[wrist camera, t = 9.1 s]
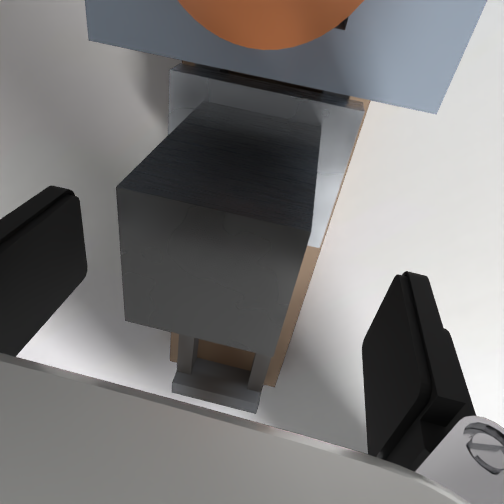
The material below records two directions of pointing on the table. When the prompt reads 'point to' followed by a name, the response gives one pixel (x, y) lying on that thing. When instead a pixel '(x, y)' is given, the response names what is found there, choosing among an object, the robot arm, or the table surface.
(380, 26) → the button housing
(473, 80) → the table surface
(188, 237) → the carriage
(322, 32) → the button
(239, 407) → the slide rail track
